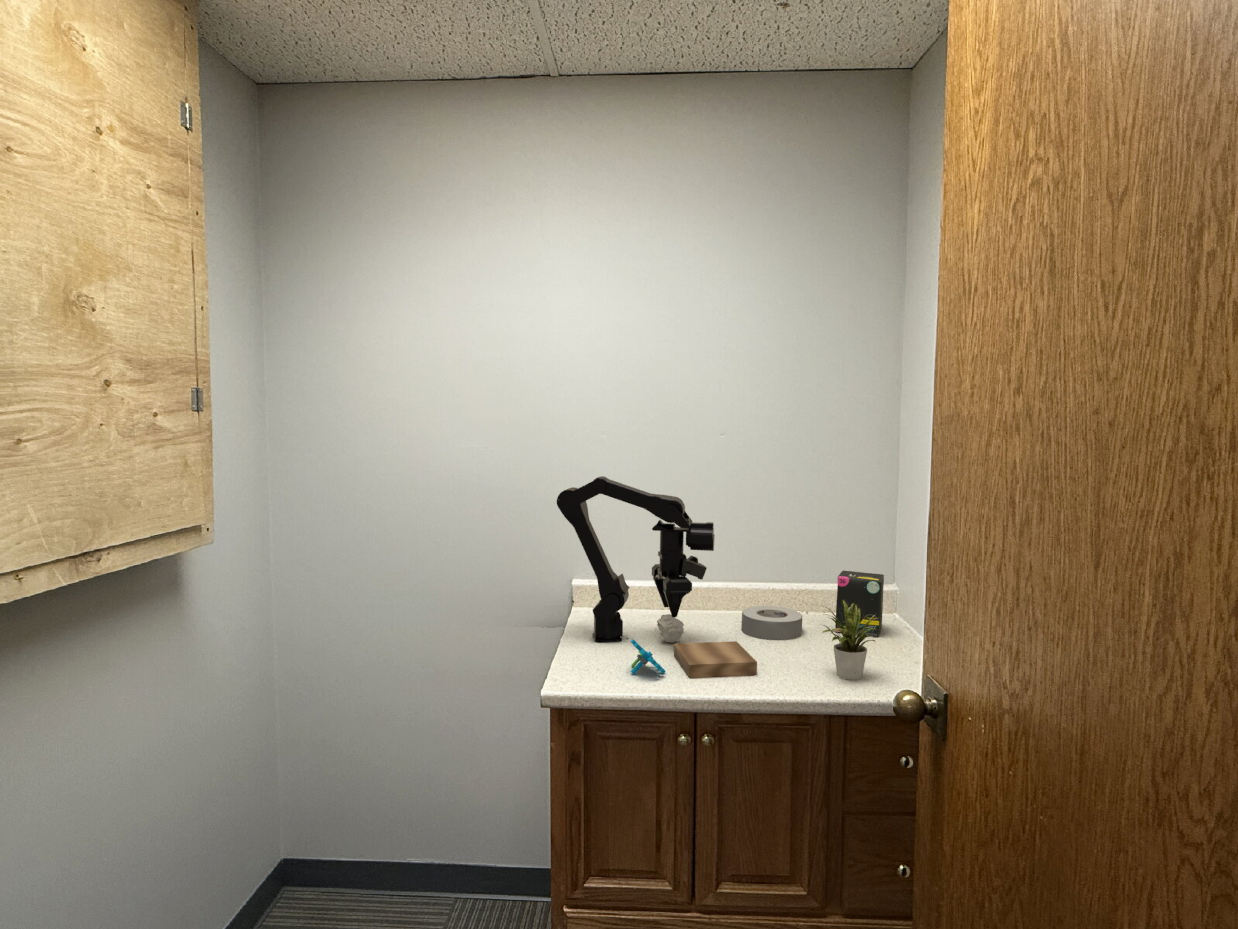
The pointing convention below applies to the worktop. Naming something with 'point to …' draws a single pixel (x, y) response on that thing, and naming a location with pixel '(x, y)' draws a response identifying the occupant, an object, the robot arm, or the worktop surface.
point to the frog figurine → (670, 628)
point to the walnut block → (714, 659)
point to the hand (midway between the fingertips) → (670, 612)
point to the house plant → (849, 644)
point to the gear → (644, 659)
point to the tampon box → (861, 599)
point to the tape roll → (771, 623)
